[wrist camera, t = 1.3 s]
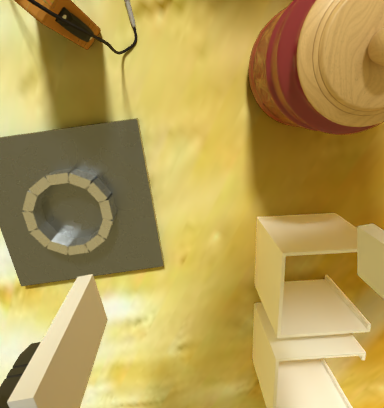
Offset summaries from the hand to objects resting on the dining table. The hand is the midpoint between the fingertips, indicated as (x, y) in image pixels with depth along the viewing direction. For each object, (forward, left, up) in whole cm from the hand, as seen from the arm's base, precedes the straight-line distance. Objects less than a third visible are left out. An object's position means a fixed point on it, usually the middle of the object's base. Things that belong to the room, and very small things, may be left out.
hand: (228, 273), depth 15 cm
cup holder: (+3, -16, -26) cm, 31 cm away
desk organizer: (+21, +12, -26) cm, 36 cm away
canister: (-10, +14, -26) cm, 31 cm away
